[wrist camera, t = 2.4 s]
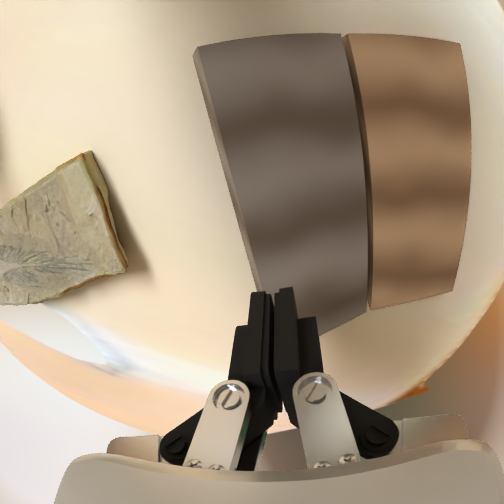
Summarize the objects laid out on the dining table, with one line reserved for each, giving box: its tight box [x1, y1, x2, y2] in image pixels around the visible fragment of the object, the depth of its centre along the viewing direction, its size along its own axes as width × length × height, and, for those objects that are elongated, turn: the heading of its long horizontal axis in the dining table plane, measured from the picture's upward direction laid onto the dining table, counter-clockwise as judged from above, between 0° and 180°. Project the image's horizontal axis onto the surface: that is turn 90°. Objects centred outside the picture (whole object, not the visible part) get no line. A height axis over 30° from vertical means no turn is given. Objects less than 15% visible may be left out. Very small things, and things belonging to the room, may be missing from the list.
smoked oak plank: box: [193, 33, 368, 336], centre depth 18 cm, size 22×9×2 cm, turn 13°
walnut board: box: [342, 34, 471, 310], centre depth 18 cm, size 22×9×2 cm, turn 13°
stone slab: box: [0, 151, 128, 305], centre depth 23 cm, size 12×4×30 cm
